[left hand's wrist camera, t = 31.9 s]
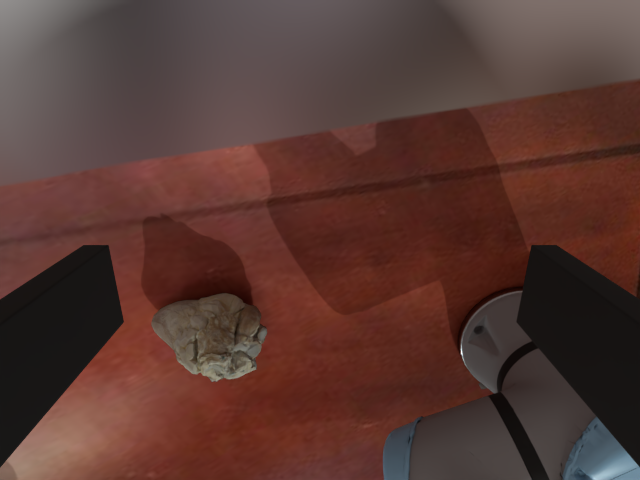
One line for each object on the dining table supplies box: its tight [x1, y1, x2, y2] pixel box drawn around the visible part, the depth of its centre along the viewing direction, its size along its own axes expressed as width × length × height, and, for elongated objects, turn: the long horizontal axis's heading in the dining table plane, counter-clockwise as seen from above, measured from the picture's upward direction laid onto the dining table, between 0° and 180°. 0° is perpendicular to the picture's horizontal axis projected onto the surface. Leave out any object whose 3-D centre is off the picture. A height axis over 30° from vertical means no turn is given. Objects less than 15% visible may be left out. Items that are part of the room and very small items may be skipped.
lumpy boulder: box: [152, 293, 267, 382], centre depth 50 cm, size 11×11×15 cm
